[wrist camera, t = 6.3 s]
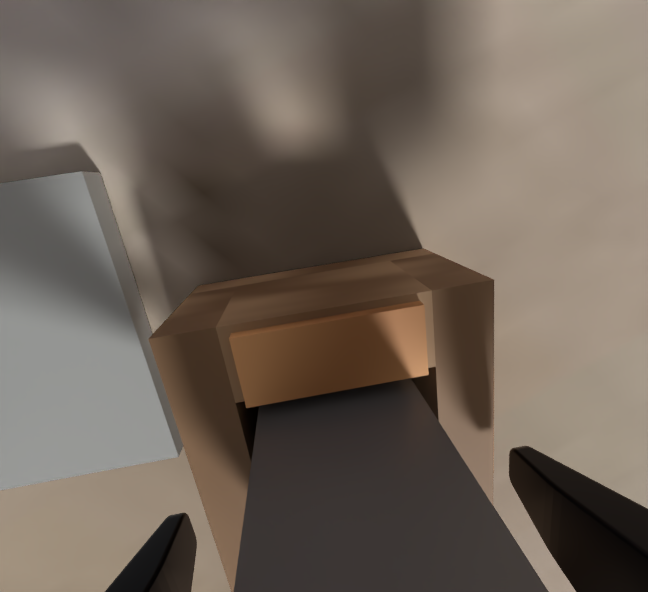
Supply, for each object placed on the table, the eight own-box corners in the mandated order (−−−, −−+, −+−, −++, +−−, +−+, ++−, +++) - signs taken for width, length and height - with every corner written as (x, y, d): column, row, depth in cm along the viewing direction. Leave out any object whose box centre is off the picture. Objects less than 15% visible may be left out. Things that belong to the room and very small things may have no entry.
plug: (286, 446, 13) (281, 1035, 4) (266, 351, 12) (193, 883, 3) (390, 427, 13) (610, 947, 4) (380, 331, 12) (663, 769, 3)
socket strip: (289, 626, 18) (289, 780, 13) (198, 285, 12) (142, 344, 7) (449, 592, 18) (504, 729, 13) (431, 247, 12) (514, 280, 8)
